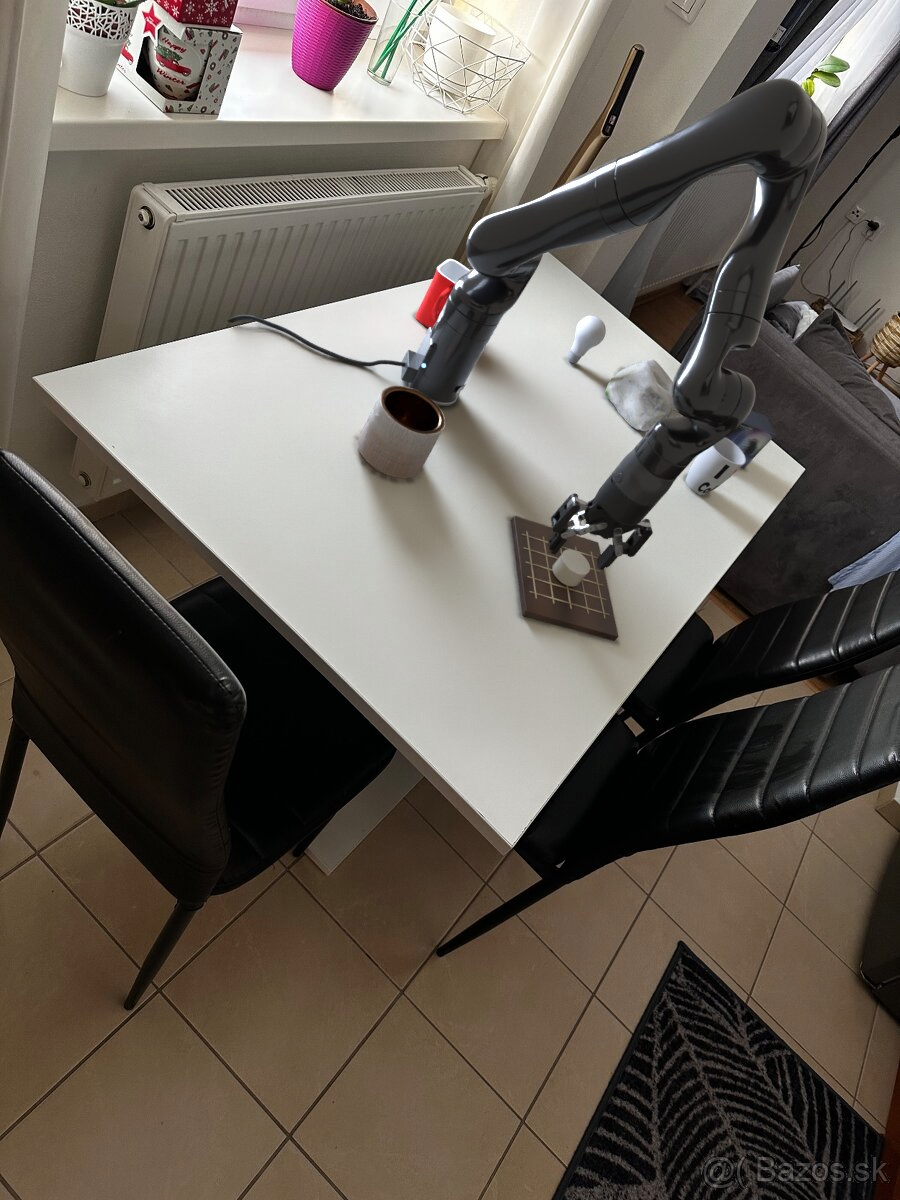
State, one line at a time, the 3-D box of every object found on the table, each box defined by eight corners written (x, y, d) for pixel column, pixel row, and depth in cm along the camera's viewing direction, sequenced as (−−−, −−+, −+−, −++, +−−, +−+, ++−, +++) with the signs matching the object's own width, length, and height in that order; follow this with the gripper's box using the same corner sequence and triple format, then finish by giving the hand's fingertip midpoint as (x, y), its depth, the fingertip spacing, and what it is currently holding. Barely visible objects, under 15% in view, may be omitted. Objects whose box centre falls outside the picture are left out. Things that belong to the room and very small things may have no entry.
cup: (694, 501, 167) (726, 464, 160) (672, 470, 171) (703, 434, 164) (719, 500, 172) (753, 465, 165) (698, 471, 175) (729, 435, 169)
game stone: (554, 581, 130) (564, 569, 128) (550, 558, 134) (560, 545, 131) (582, 590, 132) (592, 578, 130) (577, 566, 135) (587, 554, 133)
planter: (380, 422, 138) (403, 376, 132) (432, 463, 138) (458, 419, 131) (343, 446, 130) (365, 398, 124) (397, 490, 130) (423, 444, 123)
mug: (427, 303, 169) (450, 256, 162) (462, 327, 170) (486, 281, 162) (403, 323, 161) (426, 275, 153) (439, 348, 161) (464, 301, 154)
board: (522, 615, 124) (526, 610, 123) (510, 520, 137) (514, 514, 136) (614, 641, 130) (619, 636, 129) (594, 546, 143) (598, 541, 142)
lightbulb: (587, 367, 183) (615, 324, 175) (576, 374, 178) (604, 331, 171) (565, 349, 183) (592, 306, 176) (553, 356, 179) (581, 313, 171)
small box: (706, 458, 181) (739, 421, 174) (697, 437, 185) (729, 401, 178) (744, 470, 185) (778, 434, 178) (735, 450, 189) (767, 414, 182)
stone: (647, 345, 193) (697, 389, 192) (626, 371, 198) (676, 413, 196) (610, 362, 171) (667, 411, 169) (588, 391, 175) (643, 439, 174)
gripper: (673, 482, 124) (610, 552, 135) (590, 450, 119) (532, 526, 130) (684, 518, 119) (618, 588, 130) (598, 487, 114) (537, 563, 125)
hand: (575, 557), depth 130 cm, fingers open, 8 cm apart
